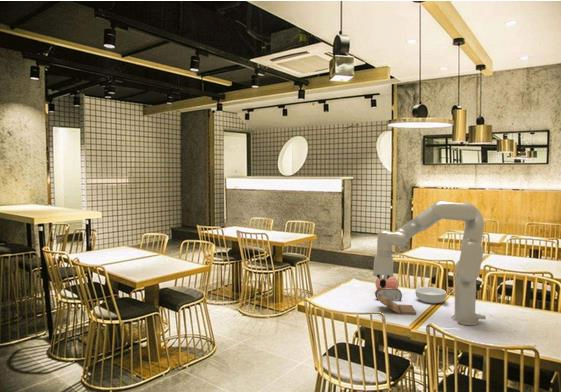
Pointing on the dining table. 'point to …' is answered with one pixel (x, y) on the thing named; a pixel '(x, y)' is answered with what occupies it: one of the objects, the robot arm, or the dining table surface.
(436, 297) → the cereal bowl
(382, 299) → the panel
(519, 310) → the dining table surface
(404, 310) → the floor board
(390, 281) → the vase
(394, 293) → the tin
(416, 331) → the dining table surface
